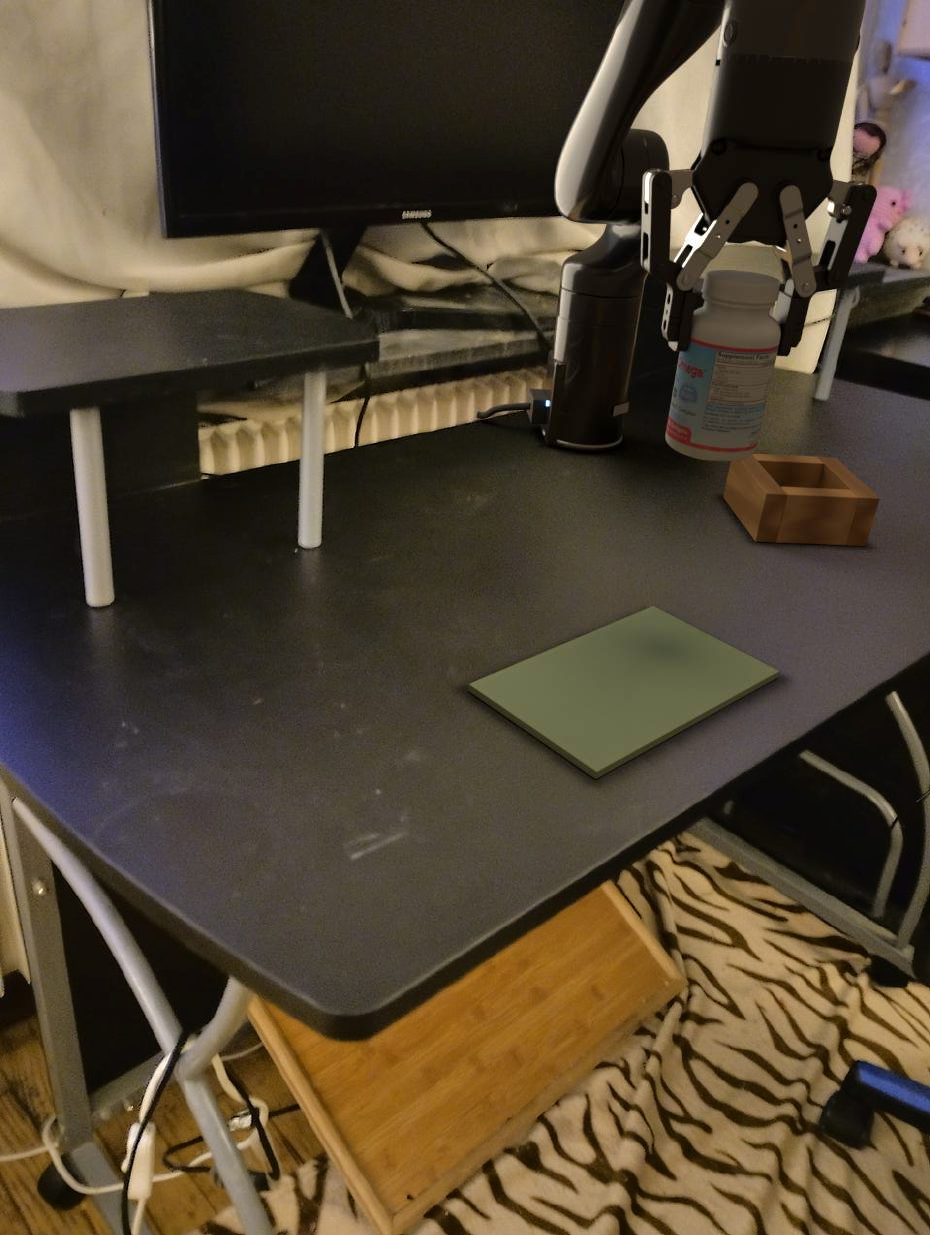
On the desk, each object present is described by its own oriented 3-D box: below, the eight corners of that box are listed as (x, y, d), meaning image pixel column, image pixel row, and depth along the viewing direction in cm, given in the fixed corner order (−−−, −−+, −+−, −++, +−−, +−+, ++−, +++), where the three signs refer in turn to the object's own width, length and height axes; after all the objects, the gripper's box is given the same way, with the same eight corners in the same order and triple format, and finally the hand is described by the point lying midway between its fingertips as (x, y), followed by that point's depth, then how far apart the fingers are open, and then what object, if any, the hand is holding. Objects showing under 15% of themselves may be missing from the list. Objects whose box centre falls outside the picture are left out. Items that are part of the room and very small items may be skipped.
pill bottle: (657, 431, 69) (684, 264, 64) (743, 437, 69) (778, 271, 64) (671, 461, 64) (702, 281, 58) (765, 467, 64) (804, 288, 58)
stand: (755, 542, 94) (766, 493, 91) (722, 497, 103) (732, 452, 101) (866, 546, 95) (880, 498, 92) (823, 501, 104) (835, 457, 102)
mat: (595, 779, 61) (596, 771, 60) (467, 690, 68) (468, 683, 68) (777, 677, 72) (779, 670, 72) (651, 611, 80) (653, 605, 80)
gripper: (878, 62, 59) (812, 342, 67) (644, 44, 58) (606, 332, 66) (939, 61, 53) (858, 372, 61) (677, 40, 51) (630, 361, 59)
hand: (727, 350), depth 63 cm, fingers closed on pill bottle, 6 cm apart
